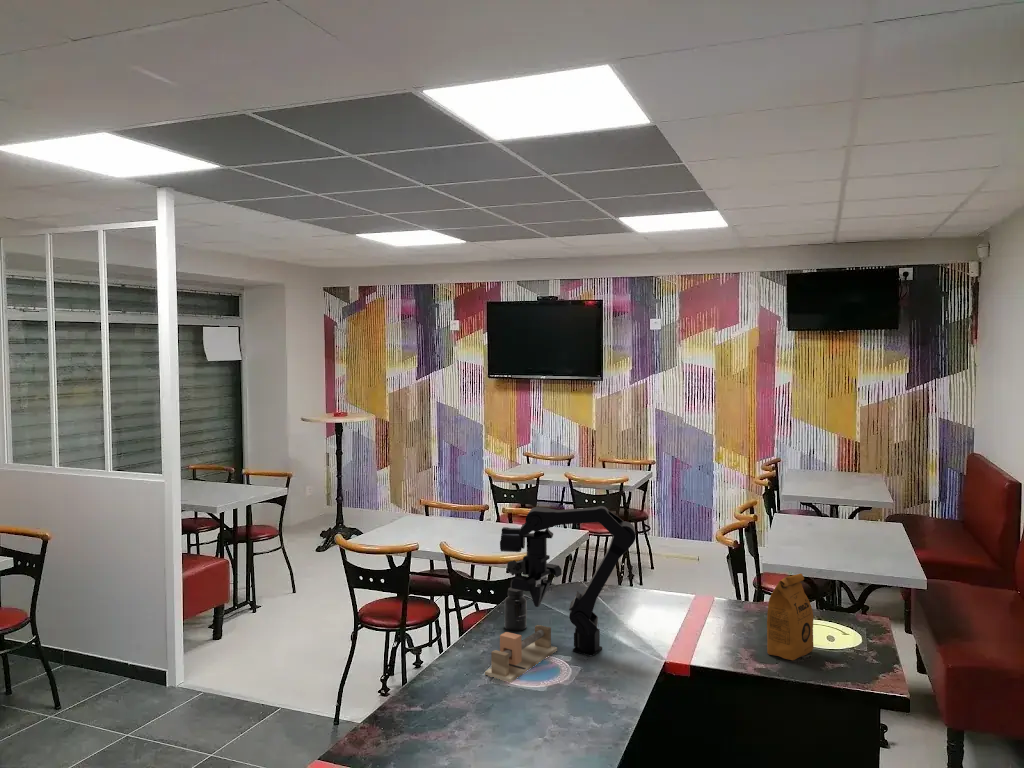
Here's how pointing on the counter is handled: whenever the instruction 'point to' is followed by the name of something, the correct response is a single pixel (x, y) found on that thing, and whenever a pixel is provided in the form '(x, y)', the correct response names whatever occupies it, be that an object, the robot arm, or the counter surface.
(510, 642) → the brown block with hole
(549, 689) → the counter surface
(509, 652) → the pipe stand
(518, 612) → the supplement bottle
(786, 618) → the coffee package
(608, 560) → the robot arm
